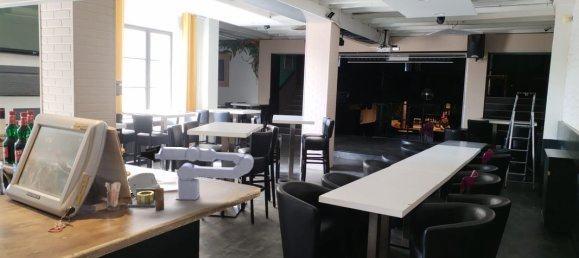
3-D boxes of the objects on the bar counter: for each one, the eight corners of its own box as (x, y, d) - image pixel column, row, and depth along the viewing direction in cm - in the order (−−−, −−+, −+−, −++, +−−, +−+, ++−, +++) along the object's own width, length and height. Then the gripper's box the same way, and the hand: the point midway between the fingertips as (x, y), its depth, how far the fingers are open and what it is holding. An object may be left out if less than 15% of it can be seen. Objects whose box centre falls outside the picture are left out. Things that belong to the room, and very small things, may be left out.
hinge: (133, 196, 200) (128, 175, 200) (127, 198, 202) (122, 177, 203) (161, 188, 214) (155, 169, 214) (155, 190, 216) (149, 171, 217)
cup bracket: (163, 199, 196) (162, 188, 195) (155, 207, 184) (154, 196, 183) (137, 198, 196) (136, 188, 195) (127, 206, 184) (126, 195, 183)
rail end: (165, 208, 183) (164, 187, 181) (162, 210, 179) (162, 190, 178) (157, 208, 183) (156, 187, 181) (154, 210, 179) (153, 190, 178)
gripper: (176, 142, 202) (147, 141, 202) (169, 147, 188) (138, 147, 187) (176, 156, 203) (147, 155, 203) (169, 163, 189) (138, 162, 188)
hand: (143, 152), depth 195 cm, fingers open, 7 cm apart
